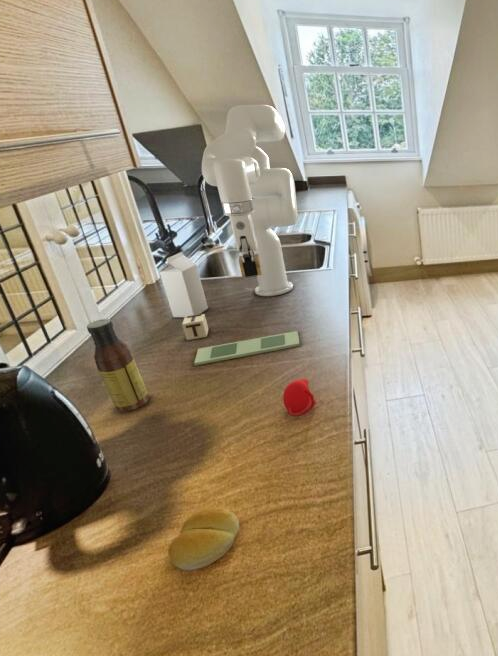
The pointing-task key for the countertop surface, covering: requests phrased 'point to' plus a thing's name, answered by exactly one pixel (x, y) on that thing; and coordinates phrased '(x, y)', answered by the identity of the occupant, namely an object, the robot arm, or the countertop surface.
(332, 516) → the countertop surface
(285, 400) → the cap
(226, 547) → the bread roll
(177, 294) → the milk carton
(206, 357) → the word mat
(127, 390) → the sauce bottle
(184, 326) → the letter T
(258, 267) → the letter I
